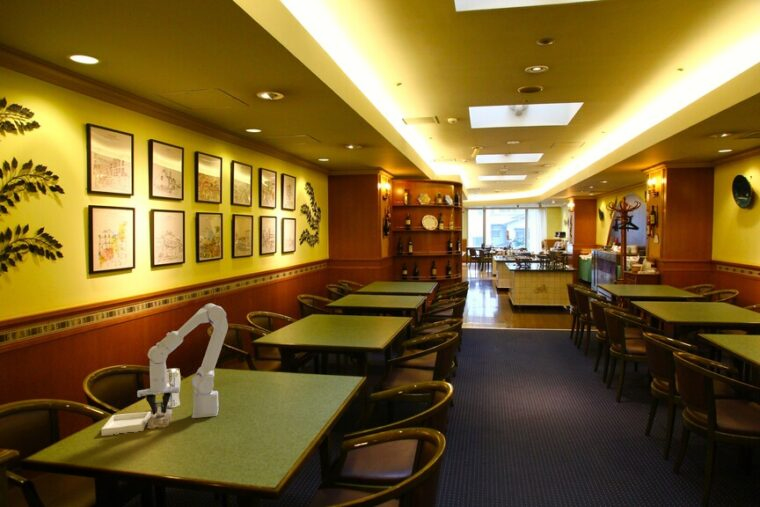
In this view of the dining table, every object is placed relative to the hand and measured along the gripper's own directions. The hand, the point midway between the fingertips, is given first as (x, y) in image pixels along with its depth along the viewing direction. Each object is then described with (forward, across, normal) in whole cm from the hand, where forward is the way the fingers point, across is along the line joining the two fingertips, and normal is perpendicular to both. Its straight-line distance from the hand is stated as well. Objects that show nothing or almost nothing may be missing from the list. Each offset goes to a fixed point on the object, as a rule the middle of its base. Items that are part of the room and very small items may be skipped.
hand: (159, 413), depth 180 cm
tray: (+4, -12, +1) cm, 12 cm away
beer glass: (+4, +1, +20) cm, 21 cm away
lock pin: (+4, 0, 0) cm, 4 cm away
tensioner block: (+4, 0, +3) cm, 5 cm away
